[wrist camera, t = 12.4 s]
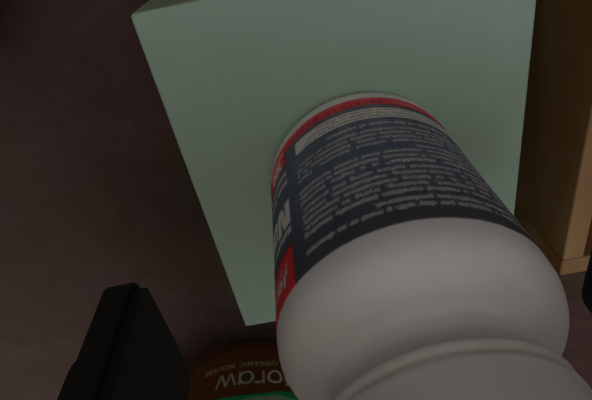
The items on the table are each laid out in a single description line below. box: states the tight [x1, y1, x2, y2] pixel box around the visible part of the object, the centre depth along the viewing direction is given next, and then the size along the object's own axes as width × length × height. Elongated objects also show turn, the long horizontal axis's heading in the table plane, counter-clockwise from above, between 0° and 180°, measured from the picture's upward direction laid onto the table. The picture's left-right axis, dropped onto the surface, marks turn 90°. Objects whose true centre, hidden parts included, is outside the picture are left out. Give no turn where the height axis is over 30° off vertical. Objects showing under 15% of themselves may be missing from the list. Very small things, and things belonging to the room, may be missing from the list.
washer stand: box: [131, 0, 536, 326], centre depth 15 cm, size 10×11×5 cm
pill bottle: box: [271, 93, 592, 400], centre depth 9 cm, size 5×5×9 cm
